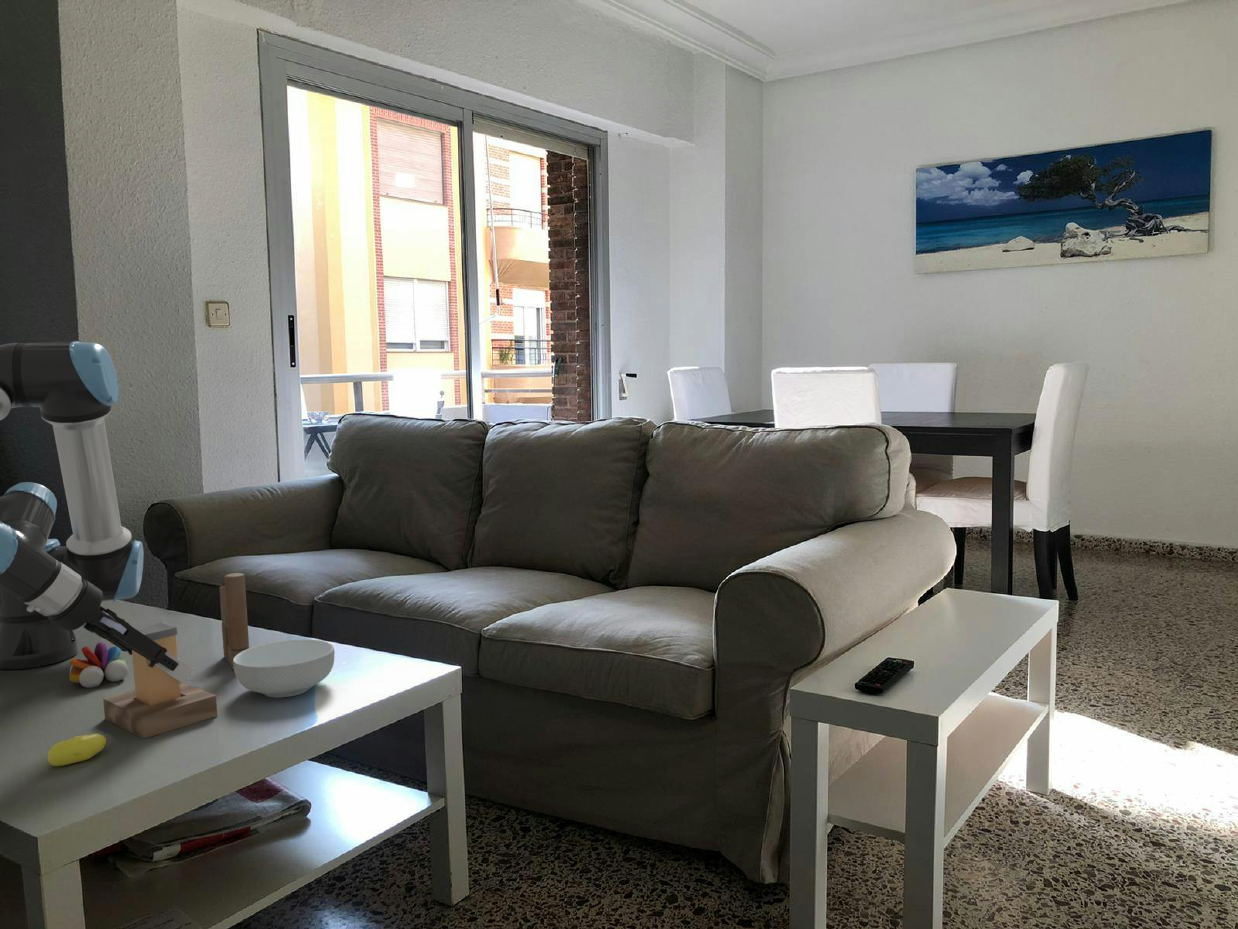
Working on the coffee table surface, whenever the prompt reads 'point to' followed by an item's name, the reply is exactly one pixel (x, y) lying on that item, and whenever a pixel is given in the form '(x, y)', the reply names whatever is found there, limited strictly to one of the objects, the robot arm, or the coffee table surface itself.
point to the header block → (160, 711)
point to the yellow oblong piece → (76, 749)
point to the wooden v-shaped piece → (234, 616)
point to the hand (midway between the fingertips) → (178, 673)
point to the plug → (155, 668)
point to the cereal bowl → (284, 666)
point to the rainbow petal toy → (98, 666)
